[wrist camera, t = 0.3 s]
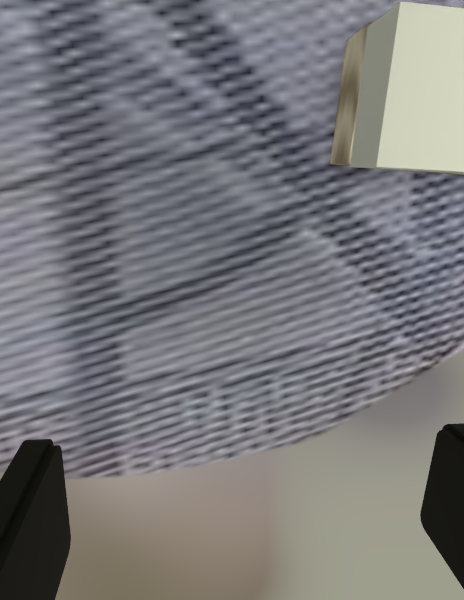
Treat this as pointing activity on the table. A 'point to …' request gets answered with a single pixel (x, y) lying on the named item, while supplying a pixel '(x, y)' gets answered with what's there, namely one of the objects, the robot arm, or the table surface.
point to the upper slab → (412, 91)
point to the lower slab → (350, 99)
